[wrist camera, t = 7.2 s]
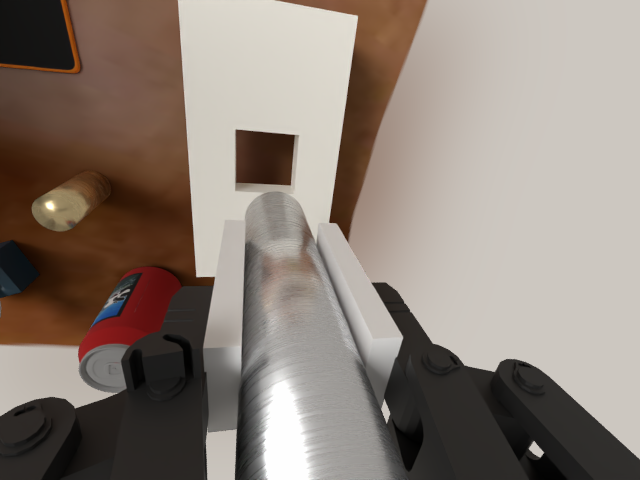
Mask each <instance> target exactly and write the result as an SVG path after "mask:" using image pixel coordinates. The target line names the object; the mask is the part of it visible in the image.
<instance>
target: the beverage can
mask: <svg viewBox="0 0 640 480" xmlns="http://www.w3.org/2000/svg"><path fill="white" fill-rule="evenodd" d="M181 288H182V286H181V284H180V282H179V280H178V279H177V278H176V277H175V276H174V275H173V274H171V273H170V272H168V271H166V270H164V269H161V268H157V267H139V268H136V269H133V270H131V271H129V272H128V273H126V274H125V275H124V276H123V277H122V278H121V280H120V281H119V283H118V284H117V286H116V288H115V289H114V291H113V292H112V294H111V295H110V297H109V299H108V300H107V302H106V303H105V305H104V306H103V308H102V310H101V311H100V313H99V315H98V316H97V318H96V319H95V321H94V323H93V324H92V326H91V328H90V329H89V331H88V333H87V334H86V336H85V338H84V339H83V341H82V343H81V344H80V347H79V351H78V352H79V353H78V357H79V362H80V365H79V373H80V376H81V378H82V379H83V381H85V383H87V384H88V385H89V386H91V387H93V388H95V389H98V390H101V391H104V392H111V393H119V392H121V391H123V390H125V389H126V383H125V378H124V374H123V369H122V365H121V359H122V357H123V355H124V353H125V351H126V350H127V349H128V348H129V347H130V346H131V345H132V344H133V343H134V342H135V341H137V340H138V339H140V338H142V337H144V336H146V335H148V334H150V333H154V332H158V331H160V329H161V326H162V324H163V323H164V318H165V315H166V312H167V309H168V307H169V304H170V301H171V298H172V296H173V295H175V294H176V293H177V292H178V291H179V290H180V289H181Z"/></svg>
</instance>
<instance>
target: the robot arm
mask: <svg viewBox="0 0 640 480" xmlns="http://www.w3.org/2000/svg"><path fill="white" fill-rule="evenodd" d="M245 222H246V221H245V220H225V224H224V230H223V236H222V242H221V247H220V253H219V259H218V265H217V270H216V276H215V282H214V286H183V287H182V288H181V289H180V290H179V291H178V292H177V293H176V294H175V295H173V296H172V298H171V301H170V304H169V307H168V309H167V312H166V315H165V318H164V323H163V324H162V326H161V329H160V331H158V332H154V333H150V334H148V335H146V336H144V337H142V338H140V339H138V340H137V341H135V342H134V343H133V344H132V345H131V346H130V347H129V348H128V349H127V350H126V351H125V353H124V355H123V357H122V359H121V365H122V369H123V374H124V378H125V383H126V389H125V390H123V391H121V392H119V393H118V394H115V395H113V396H111V397H108V398H106V399H103V400H100V401H97V402H94V403H91V404H88V405H84V406H81V407H79V408H76V409H75V408H74V406H73V405H72V404H71V403H69V402H68V401H67V400H66V399H61V398H55V397H49V398H43V399H36V400H33V401H30V402H27V403H25V404H22V405H20V406H17V407H15V408H13V409H12V410H10V411H8V412H7V413H5V414H4V415H2V416H0V480H207V459H206V435H207V427H208V432H217V431H226V430H234V429H237V411H238V390H239V384H240V381H241V365H242V332H243V299H244V265H245ZM316 245H317V247H318V250H319V253H320V255H321V258H322V260H323V263H324V265H325V268H326V270H327V273H328V276H329V278H330V281H331V283H332V286H333V288H334V291H335V293H336V296H337V298H338V301H339V304H340V306H341V309H342V311H343V314H344V316H345V319H346V321H347V324H348V327H349V329H350V332H351V334H352V337H353V339H354V342H355V344H356V347H357V350H358V352H359V355H360V357H361V360H362V362H363V365H364V367H365V370H366V373H367V375H368V378H369V380H370V383H371V385H372V388H373V390H374V393H375V395H376V398H377V401H378V403H379V406H380V408H382V405H383V401H384V399H385V401H386V404H387V406H388V408H389V411H390V416H389V419H388V422H387V426H388V429H389V431H390V434H391V436H392V439H393V441H394V444H395V447H396V449H397V452H398V454H399V457H400V459H401V462H402V464H403V467H404V469H405V472H406V475H407V477H408V480H640V459H639V458H637V457H636V456H635V455H634V454H633V453H632V452H631V451H630V450H629V449H627V447H625V446H624V445H623V444H622V443H621V442H620V441H619V440H618V439H617V438H616V437H614V436H613V435H612V434H611V433H610V432H609V431H608V430H607V429H605V427H604V426H602V425H601V424H600V423H599V422H598V421H597V420H596V419H595V418H594V417H592V416H591V415H590V414H589V413H588V412H587V411H586V410H585V409H584V408H583V407H582V406H580V405H579V404H578V403H577V402H576V401H575V400H574V399H573V398H572V397H571V396H570V395H568V394H567V393H566V392H565V391H564V390H563V389H562V388H561V387H560V386H559V385H558V384H557V383H555V382H554V381H553V380H552V379H551V378H550V377H549V376H547V375H546V374H545V373H543V372H542V371H541V370H540V369H538V368H536V367H534V366H532V365H530V364H529V363H526V362H523V361H520V360H515V359H506V360H504V361H502V362H500V364H499V366H498V368H497V370H496V371H495V372H492V371H487V370H482V369H477V368H472V367H468V366H464V364H463V363H462V362H461V360H460V359H459V358H458V357H457V356H456V355H455V354H454V353H452V352H451V351H450V350H448V349H446V348H444V347H442V346H439V345H436V344H433V343H432V342H431V340H430V339H429V337H428V336H427V334H426V333H425V332H424V330H423V329H422V327H421V326H420V324H419V323H418V321H417V320H416V318H415V317H414V315H413V314H412V313H411V312H410V309H409V308H408V307H407V305H406V304H404V301H403V299H402V298H401V296H400V295H399V293H398V292H397V291H396V290H395V289H393V288H392V287H391V286H389V285H388V284H387V283H371V281H370V280H369V278H368V276H367V275H366V273H365V271H364V269H363V268H362V266H361V264H360V263H359V261H358V259H357V257H356V256H355V254H354V252H353V251H352V249H351V247H350V245H349V244H348V242H347V240H346V239H345V237H344V235H343V233H342V232H341V230H340V228H339V227H338V225H337V223H319V225H318V233H317V241H316ZM533 441H535V442H536V444H537V445H538V446H539V447H540V448H541V449H542V451H543V452H544V454H543V455H542V457H541V458H540V457H538V456H536V455H534V454H533V453H532V452H531V451H530V450H529V447H530V446H531V444H532V442H533Z"/></svg>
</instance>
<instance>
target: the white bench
mask: <svg viewBox="0 0 640 480" xmlns="http://www.w3.org/2000/svg"><path fill="white" fill-rule="evenodd" d="M178 7H179V22H180V37H181V52H182V67H183V82H184V97H185V112H186V127H187V142H188V157H189V172H190V187H191V202H192V217H193V232H194V247H195V262H196V277H215V276H216V270H217V265H218V259H219V253H220V247H221V242H222V236H223V230H224V224H225V220H245V214H246V210H247V208H248V206H249V204H250V203H251V202H252V201H253V200H254V199H255V198H256V197H258V196H259V195H261V194H264V193H267V192H273V191H277V192H283V193H286V194H289V195H291V196H292V197H294V198H295V199H296V200H297V201H298V202H299V204H300V205H301V207H302V209H303V212H304V214H305V217H306V219H307V222H308V224H309V227H310V230H311V232H312V235H313V237H314V240H315V242H316V241H317V233H318V225H319V223H329V219H330V212H331V204H332V197H333V190H334V183H335V176H336V169H337V162H338V155H339V148H340V141H341V134H342V126H343V119H344V112H345V105H346V98H347V91H348V84H349V77H350V70H351V63H352V56H353V49H354V41H355V34H356V27H357V20H358V16H355V15H350V14H344V13H339V12H334V11H328V10H323V9H318V8H312V7H307V6H302V5H296V4H291V3H286V2H280V1H275V0H178ZM236 129H237V130H248V131H259V132H270V133H281V134H292V135H295V138H294V151H293V164H292V177H291V186H290V185H271V184H252V183H236Z"/></svg>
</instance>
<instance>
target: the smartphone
mask: <svg viewBox="0 0 640 480" xmlns="http://www.w3.org/2000/svg"><path fill="white" fill-rule="evenodd" d="M0 67H9V68H20V69H32V70H42V71H52V72H63V73H78V72H79V71H80V61H79V57H78V52H77V48H76V43H75V38H74V34H73V29H72V25H71V20H70V16H69V11H68V6H67V2H66V0H0Z"/></svg>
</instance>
